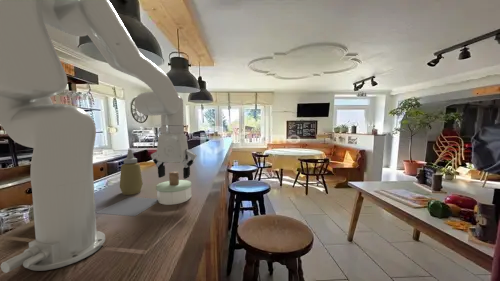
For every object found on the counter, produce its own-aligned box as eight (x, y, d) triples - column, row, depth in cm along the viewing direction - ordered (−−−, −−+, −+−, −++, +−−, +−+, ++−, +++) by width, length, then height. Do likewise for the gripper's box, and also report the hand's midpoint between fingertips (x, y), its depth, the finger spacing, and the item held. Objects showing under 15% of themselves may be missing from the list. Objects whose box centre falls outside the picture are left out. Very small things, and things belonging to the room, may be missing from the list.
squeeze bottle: (135, 197, 75) (133, 150, 74) (114, 197, 75) (112, 150, 74) (147, 190, 83) (145, 148, 82) (128, 190, 83) (126, 148, 82)
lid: (181, 193, 65) (181, 177, 65) (148, 191, 67) (148, 175, 66) (196, 183, 77) (196, 169, 76) (168, 181, 79) (167, 168, 78)
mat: (135, 218, 58) (135, 216, 58) (94, 214, 60) (94, 213, 60) (163, 200, 72) (163, 198, 72) (129, 198, 74) (128, 196, 74)
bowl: (181, 207, 66) (180, 192, 66) (151, 205, 68) (150, 191, 67) (195, 195, 77) (194, 183, 76) (169, 194, 78) (168, 182, 78)
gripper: (143, 130, 68) (145, 179, 69) (190, 130, 65) (191, 181, 67) (157, 130, 75) (158, 174, 77) (199, 130, 73) (200, 175, 74)
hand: (174, 177), depth 72 cm, fingers open, 9 cm apart
